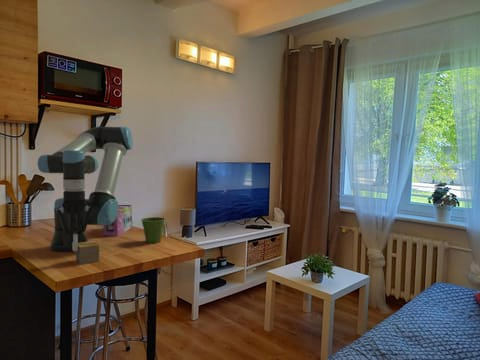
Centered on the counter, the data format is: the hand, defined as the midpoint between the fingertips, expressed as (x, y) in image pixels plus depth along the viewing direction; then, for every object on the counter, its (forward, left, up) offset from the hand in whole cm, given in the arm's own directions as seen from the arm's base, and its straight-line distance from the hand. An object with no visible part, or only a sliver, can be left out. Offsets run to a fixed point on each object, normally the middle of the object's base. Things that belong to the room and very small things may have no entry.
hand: (75, 250), depth 135 cm
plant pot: (-16, +38, -5) cm, 42 cm away
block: (0, +4, -5) cm, 7 cm away
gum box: (-48, +31, -5) cm, 57 cm away
